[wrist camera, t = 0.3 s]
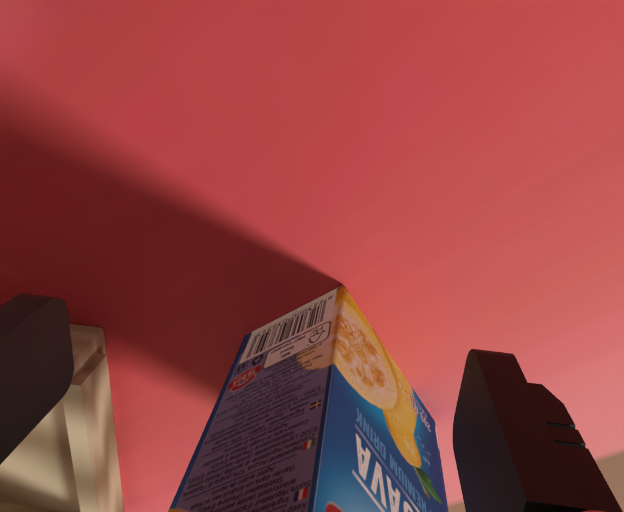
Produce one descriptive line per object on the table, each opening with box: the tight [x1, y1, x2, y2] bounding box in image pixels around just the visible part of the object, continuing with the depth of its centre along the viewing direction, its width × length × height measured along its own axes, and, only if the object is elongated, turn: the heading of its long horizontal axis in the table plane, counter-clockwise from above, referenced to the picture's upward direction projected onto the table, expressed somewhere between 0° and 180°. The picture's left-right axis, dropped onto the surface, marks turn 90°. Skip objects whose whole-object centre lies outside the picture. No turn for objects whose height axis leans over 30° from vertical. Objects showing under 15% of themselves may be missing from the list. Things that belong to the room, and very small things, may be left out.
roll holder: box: [0, 324, 124, 512], centre depth 31 cm, size 17×11×9 cm
